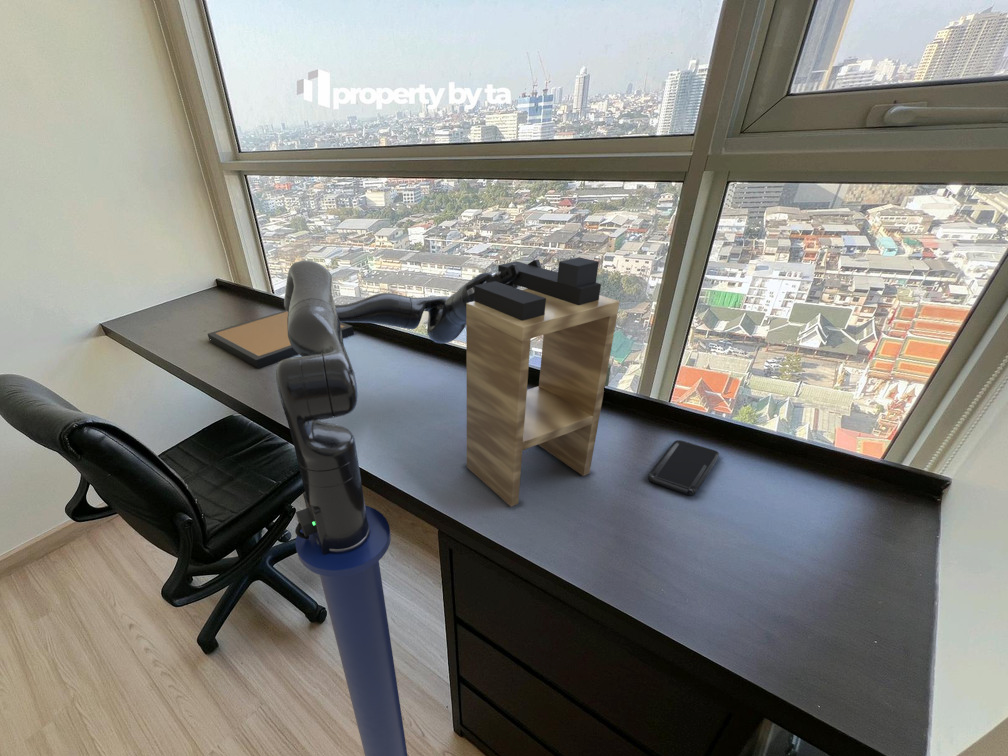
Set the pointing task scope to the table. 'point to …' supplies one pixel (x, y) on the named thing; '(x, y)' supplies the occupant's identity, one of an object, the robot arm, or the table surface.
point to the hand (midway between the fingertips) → (527, 267)
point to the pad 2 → (561, 280)
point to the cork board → (261, 339)
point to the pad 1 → (510, 300)
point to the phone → (684, 467)
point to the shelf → (543, 409)
